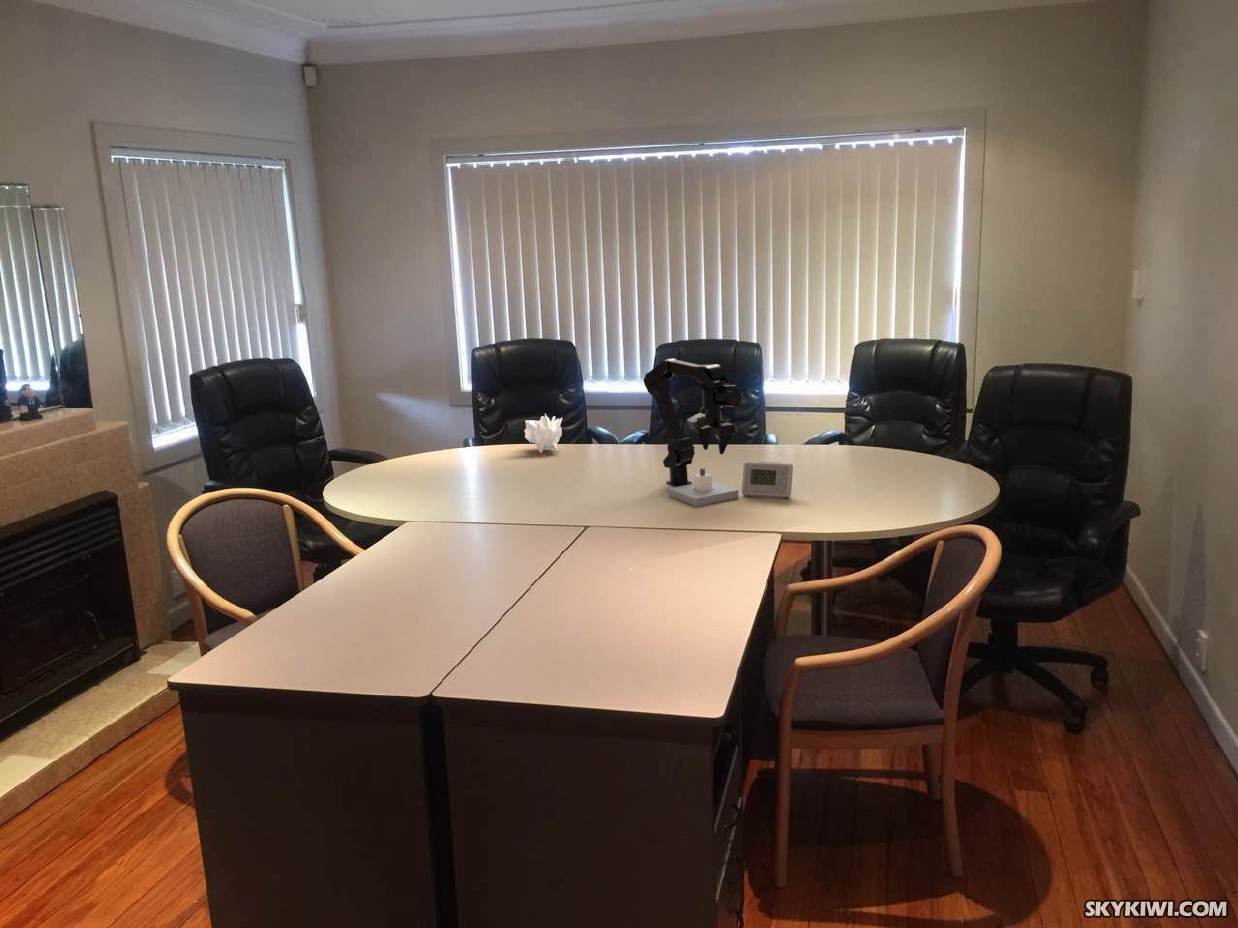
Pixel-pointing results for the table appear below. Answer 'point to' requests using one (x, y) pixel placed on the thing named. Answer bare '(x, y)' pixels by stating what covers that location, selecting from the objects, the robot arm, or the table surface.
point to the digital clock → (767, 479)
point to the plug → (702, 481)
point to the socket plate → (703, 494)
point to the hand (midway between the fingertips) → (713, 451)
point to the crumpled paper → (544, 433)
